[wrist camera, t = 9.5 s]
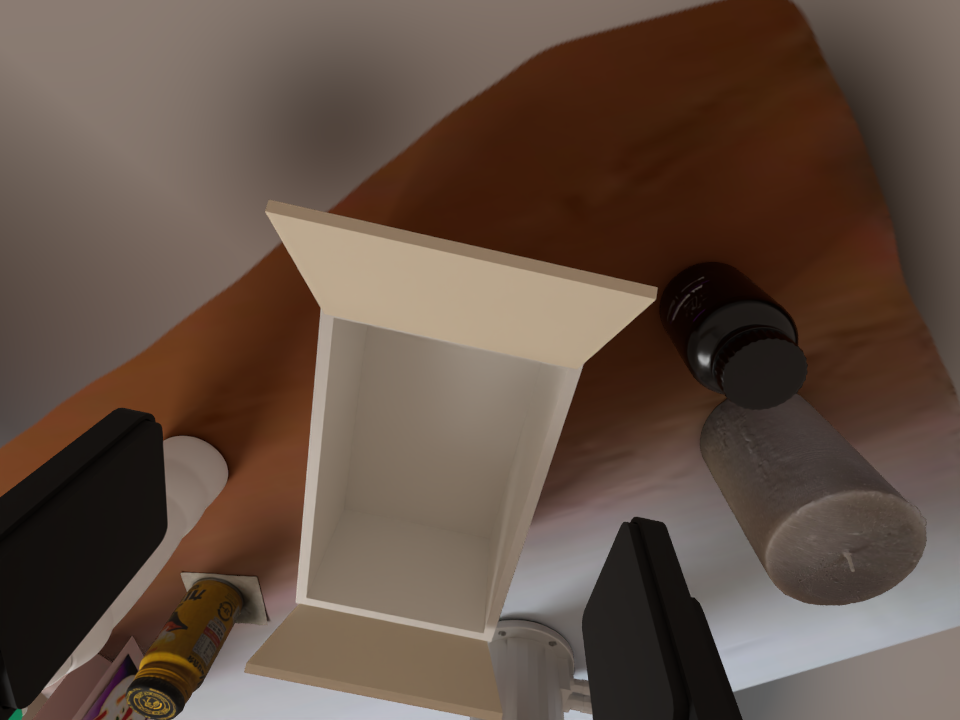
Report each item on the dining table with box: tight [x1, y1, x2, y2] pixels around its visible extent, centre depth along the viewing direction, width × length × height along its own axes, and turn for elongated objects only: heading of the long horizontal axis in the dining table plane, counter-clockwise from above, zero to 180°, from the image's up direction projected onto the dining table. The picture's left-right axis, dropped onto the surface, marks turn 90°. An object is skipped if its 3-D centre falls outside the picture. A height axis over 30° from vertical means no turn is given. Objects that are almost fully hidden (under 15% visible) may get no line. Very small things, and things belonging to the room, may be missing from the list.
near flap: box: [265, 200, 658, 369], centre depth 26 cm, size 15×12×1 cm
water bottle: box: [8, 436, 228, 720], centre depth 40 cm, size 7×7×25 cm
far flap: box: [244, 603, 503, 720], centre depth 37 cm, size 15×12×1 cm
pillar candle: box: [700, 394, 927, 605], centre depth 40 cm, size 10×10×15 cm
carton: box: [296, 309, 584, 642], centre depth 43 cm, size 16×26×11 cm, turn 168°
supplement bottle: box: [660, 262, 808, 410], centre depth 36 cm, size 7×7×12 cm
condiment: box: [125, 573, 268, 720], centre depth 54 cm, size 7×8×12 cm
